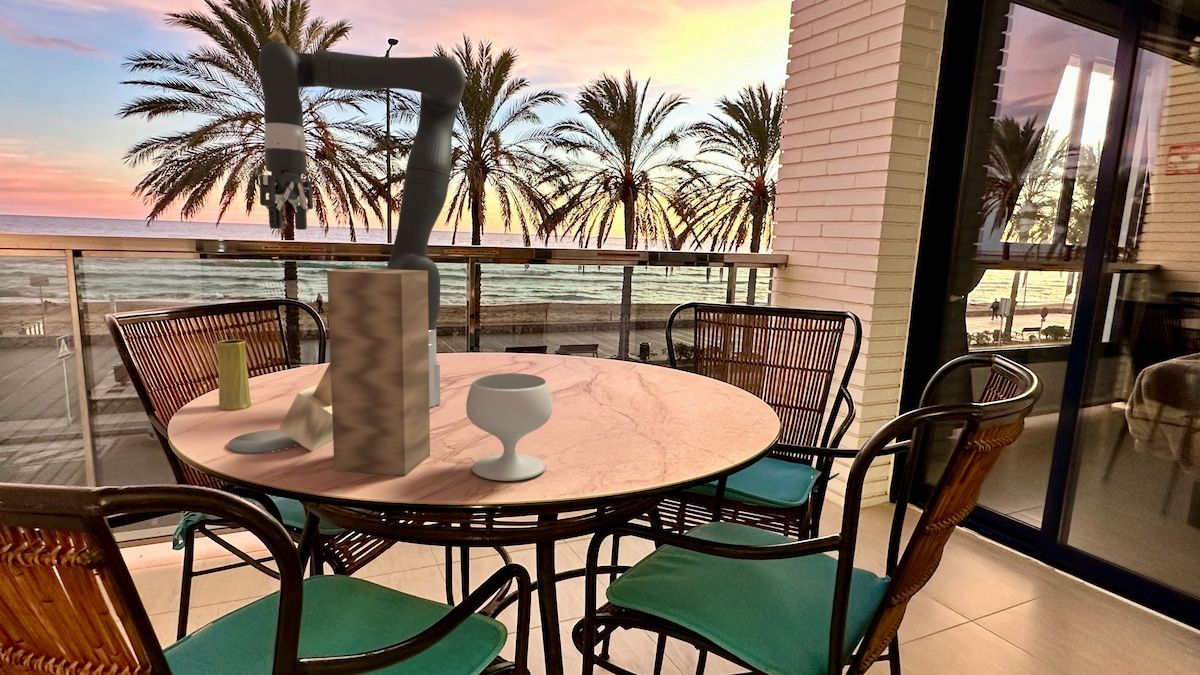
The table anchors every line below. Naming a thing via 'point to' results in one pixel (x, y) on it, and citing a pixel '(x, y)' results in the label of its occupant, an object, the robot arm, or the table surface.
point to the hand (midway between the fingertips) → (289, 229)
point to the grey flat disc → (261, 442)
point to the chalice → (509, 421)
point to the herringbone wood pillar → (379, 369)
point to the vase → (233, 375)
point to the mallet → (311, 415)
